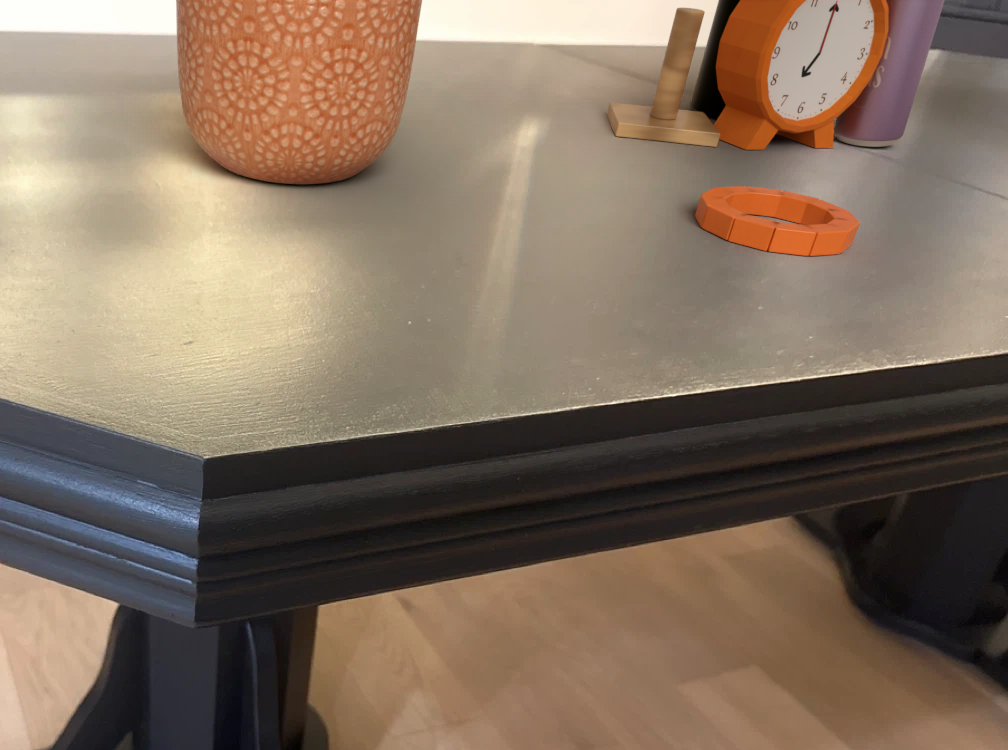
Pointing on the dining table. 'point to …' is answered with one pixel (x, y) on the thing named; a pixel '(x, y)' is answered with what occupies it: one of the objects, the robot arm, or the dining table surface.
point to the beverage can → (892, 77)
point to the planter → (295, 83)
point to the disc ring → (816, 236)
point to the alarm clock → (795, 67)
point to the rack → (669, 95)
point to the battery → (712, 64)
